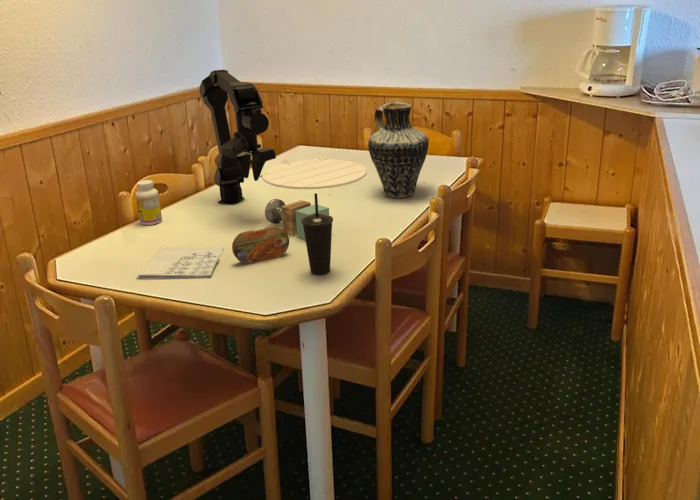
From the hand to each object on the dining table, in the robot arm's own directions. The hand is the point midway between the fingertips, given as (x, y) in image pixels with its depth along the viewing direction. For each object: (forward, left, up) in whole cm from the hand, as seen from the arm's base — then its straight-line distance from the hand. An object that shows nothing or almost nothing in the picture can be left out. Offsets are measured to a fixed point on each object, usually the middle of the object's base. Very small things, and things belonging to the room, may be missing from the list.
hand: (251, 179), depth 199 cm
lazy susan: (-5, +50, -13) cm, 52 cm away
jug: (+34, +35, -12) cm, 50 cm away
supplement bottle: (-28, -15, -12) cm, 34 cm away
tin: (+20, -29, -12) cm, 37 cm away
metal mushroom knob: (+15, -5, -12) cm, 20 cm away
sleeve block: (+19, -7, -12) cm, 23 cm away
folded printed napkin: (+2, -38, -13) cm, 40 cm away
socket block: (+25, -9, -12) cm, 29 cm away
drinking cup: (+38, -31, -12) cm, 50 cm away
